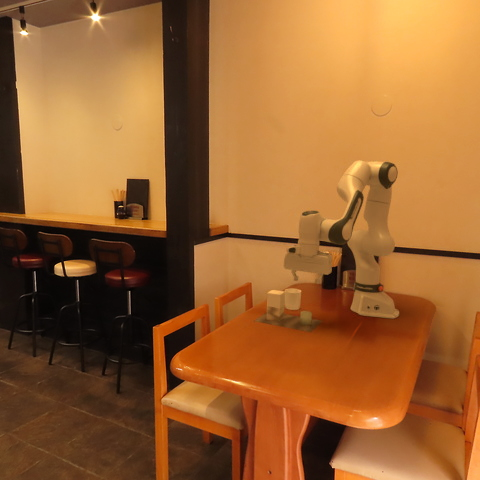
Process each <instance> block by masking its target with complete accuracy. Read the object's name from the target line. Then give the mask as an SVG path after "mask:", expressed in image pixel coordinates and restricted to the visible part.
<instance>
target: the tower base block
mask: <svg viewBox="0 0 480 480" xmlns="http://www.w3.org/2000/svg"><path fill="white" fill-rule="evenodd" d="M285 309H286V308H285V305H284V306H282V307H281V308H275V307H269V306H267V305H266V312H267V320H273V321H278V322H279V321H281V320H282V319H283V318H284V314H285Z"/></svg>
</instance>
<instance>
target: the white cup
mask: <svg viewBox="0 0 480 480" xmlns="http://www.w3.org/2000/svg"><path fill="white" fill-rule="evenodd" d="M284 292H285V309H287V310H291V311H298V310H300V307H301V300H302V299H301V298H302V297H301V296H302V290H301V289H299V288H286V289H284Z"/></svg>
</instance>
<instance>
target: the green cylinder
mask: <svg viewBox="0 0 480 480" xmlns="http://www.w3.org/2000/svg"><path fill="white" fill-rule="evenodd" d="M312 316H313V313H312V312H311V311H309V310H308V311H307V310H302V311H300V316H299V317H300V324H301V325H303V326H310V325H311V322H312V319H313V317H312Z"/></svg>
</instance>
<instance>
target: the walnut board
mask: <svg viewBox="0 0 480 480" xmlns="http://www.w3.org/2000/svg"><path fill="white" fill-rule="evenodd" d="M253 322H255V323H261V324H265V325H272V326H278V327H282V328H288V329H293V330H299V331H304V332H310V333H312V332H313V331H314V330H315V329H316V328H317V327H318V326H319V325H320V324H321V323H322V322H323V320H322V319H320V320H319V319H314V318H312V322H311V325H310V326H303V325H301V324H300V316H297V315H292V314H287V313H286V314H285V313H284V318H283V319H282V320H281V321H279V322H278V321H273V320H267V311H266V312H264V313H263V314H262V315H260V316H258V317H257V318H255V319H254V320H253Z"/></svg>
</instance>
